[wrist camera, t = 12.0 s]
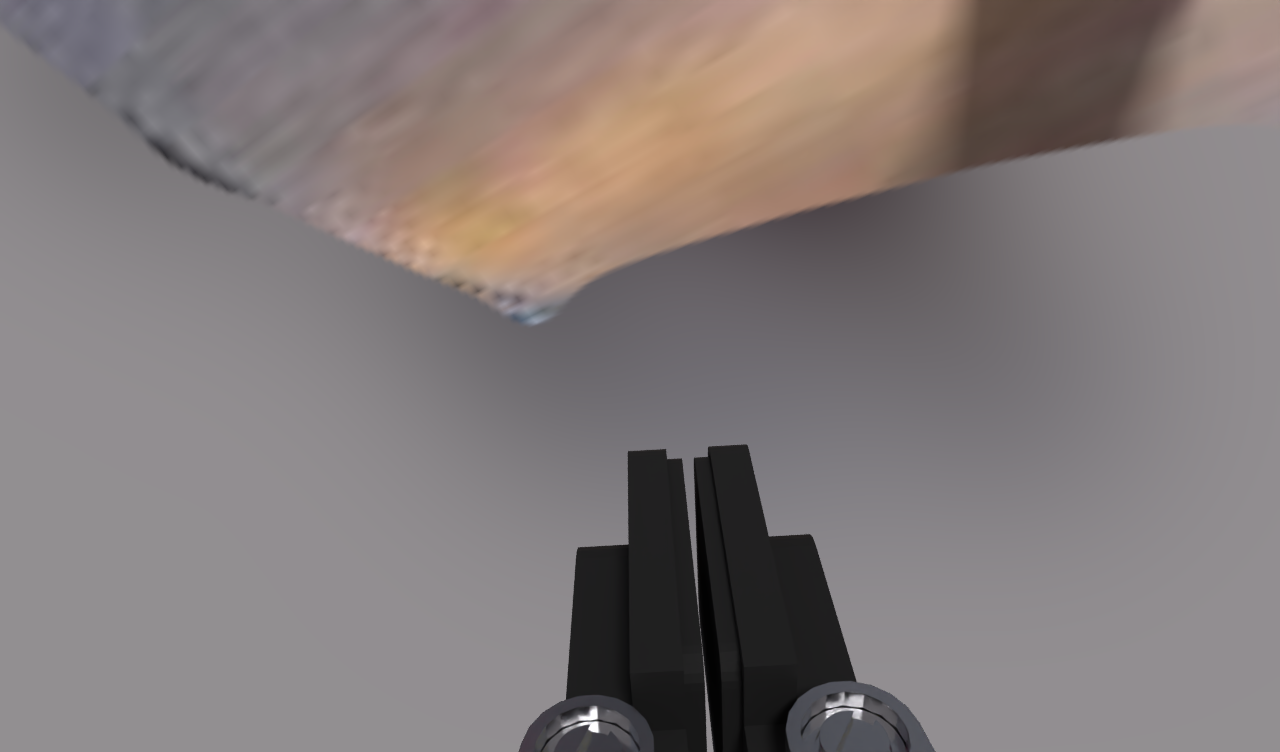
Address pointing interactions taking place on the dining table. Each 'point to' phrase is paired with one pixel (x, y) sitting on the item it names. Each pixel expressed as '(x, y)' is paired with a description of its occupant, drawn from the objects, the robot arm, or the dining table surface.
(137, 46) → the dining table surface
